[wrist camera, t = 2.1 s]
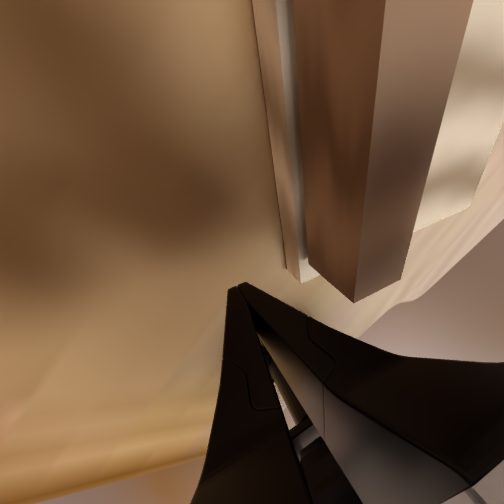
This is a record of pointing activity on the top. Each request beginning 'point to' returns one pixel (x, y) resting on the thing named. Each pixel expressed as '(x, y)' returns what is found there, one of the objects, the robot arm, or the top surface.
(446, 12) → the walnut leg
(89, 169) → the top surface
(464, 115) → the stool seat
